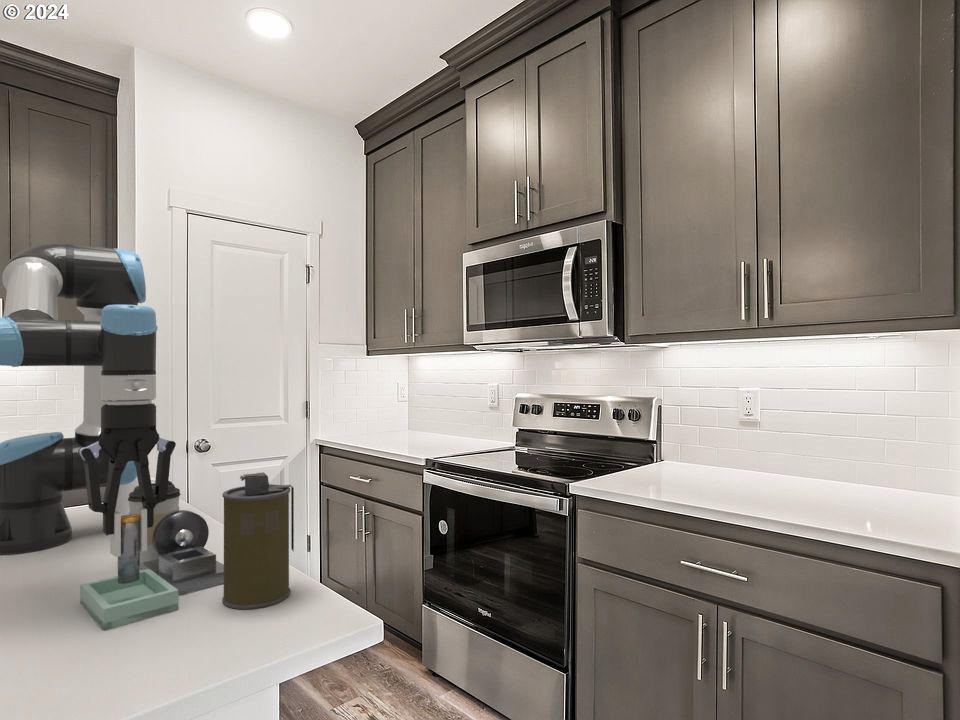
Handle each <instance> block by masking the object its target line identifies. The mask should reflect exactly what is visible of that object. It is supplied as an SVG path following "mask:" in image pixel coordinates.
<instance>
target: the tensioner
mask: <svg viewBox="0 0 960 720" xmlns="http://www.w3.org/2000/svg"><path fill="white" fill-rule="evenodd" d="M209 531H210V530H209V525H208V523H207V521H206V519H204V517H203V516H201V515H200V514H197V513H195V512H194V511H190V510H187V509H181V510H180V509H179V511H175V512H172V513H170V514H168V515H167V516H165V517H164V518H163V519H162V520H161V521H160V522H159V523H158V524H157V526H156V528H155V530H154V533H153V537H152V543H153V547H154V549H155V551H156V552H157V553H158V554H159V559H156V560H151V561H147V562H142V563H141V567H140V571H142V570H146V569H150V570H152V571H153V572H154V573H156V574H157V575H158V576H160V577H161V578H162V579H164V580H165V581H167V582H168V583H169V584H171V585H172V586H173V587H175V588H176V589H177V590H178V596H181V595H185V594H189V593H193V592H197V591H200V590H205V589H209V588H212V587H215V586H219V585H224V563H222V562H219V560H217V554H216V553H214V552H212V551H210V550H208V549H206V548H205V546H206V545H207V542H208V539H209V534H210V532H209Z"/></svg>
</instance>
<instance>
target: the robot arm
mask: <svg viewBox="0 0 960 720" xmlns="http://www.w3.org/2000/svg"><path fill="white" fill-rule="evenodd" d="M1 279H2V280H1V281H2V285H3V286H4V288H5V290H6V296H5V300H4V301H5V302H4V309H3V316H2V317H0V366H3V367H4V366H8V367H12V368H16V367H17V368H18V367H56V366H57V367H59V366H62V367H63V366H64V367H65V366H67V367H68V366H69V367H70V366H71V367H78V366H79V367H83V417H82V418H83V420H82V422H81V424H79V425H78V426H77V427H76V428H75V429H74V436H73V437H65V436H64V434H63V432H61V431H54V432H51V431H50V432H44V433H37V434H29V435H25V436H20V437H14V438H11V439H6V440H4V441H2V442H0V555H13V554H14V555H15V554H22V553H24V554H25V553H30V552H36V551H41V550H45V549H49V548H52V547H56V546H60V545H62V544H65V543H67V542H69V541H70V540H72V538H73V527H72V525H71V523H70V519H69V517H68V515H67V511H66V509H65V507H64V504H63V492H68V491H79V490H86V492H87V494H86V495H87V503H88V508H89V509H90V510H91V511H92V512H94V513H100V514H101V513H102V531H103V533H104V534H105V535H106V536H109V537H110V539H109V542H110V545H109V551H110V554H111V555H112V556H113V557H115V558H116V557H118V556H121V513H119V512H118V511H115V509H116V503H117V497H118V492H119V486H120V485H124V484H129V483H131V482H133V481H134V480H135V479H136V477H137V478H138V484H139V490H140V495H141V501H142V504H143V507H137V514H138V515H140V550H141V551H146V550H147V528H149V527H152V526H153V524H154V508H155V507H156V504H158V503H160V502H164V501H166V499H167V490H168V481H170V479H169V478H170V477H169V476H170V469H171V468H170V466H171V457H172V455H173V452H174V450H175V449H176V445H177V444H176V442H175V441H174V440H169V439H165V438H161V437H160V434H159V433H158V431H157V405H155V403H153V401H155V400H156V398H157V370H156V369H157V368H156V367H157V366H156V365H157V331H158V325H157V314H156V311H155V309H154V308H152V307H151V306H146V305H142V303H143V304H144V303H145V302H146V299H147V296H146V295H147V293H146V292H147V287H146V277H145V271H144V267H143V263H142V260H141V257H140V256H139V254H138V253H136V252H134V251H131V250H127V249H121V248H116V247H113V248H111V247H101V246H91V245H81V244H69V243H62V242H60V243H59V242H53V243H52V242H50V243H44V244H43V243H42V244H39V245H34V246H31V247H29V248H26V249H24V250H21V251H20V252H18V253H17V254H15V255H13V257H11V258H10V259H9V260H8V261H7V262H6V264H5V266H4V267H3V271H2V277H1ZM58 299H66V300H67V299H68V300H70V299H71V300H75V301H76V303H75V304H76V305H75V306H76V307H75V308H76V309H77V310H78V311H79V312H80V313H82V314H83V316H84V320H69V319H68V320H67V319H66V320H65V319H59V315H58V313H59V312H58ZM140 304H141V305H140ZM64 437H65V438H64ZM155 447H156V450H157V451H158V454H157V460H156V461H157V462H156V473H155V479H156V480H155V481H154V483H155V490H154V495H153V490H152V482H151V478H152V477H151V473H150V467H149V465H150V463H149V455H150V453H151V452H152V451H153V449H154V448H155ZM101 488H105V491H104V496H103V502H102V495H101Z"/></svg>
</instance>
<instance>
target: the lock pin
mask: <svg viewBox="0 0 960 720" xmlns="http://www.w3.org/2000/svg"><path fill="white" fill-rule="evenodd" d="M140 571H141V567H140V515H138V514H131V515H124V516H121V556H117V576H118V583H120V584H127V583H132V582H135V581H138V580H139V579H140Z"/></svg>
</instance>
